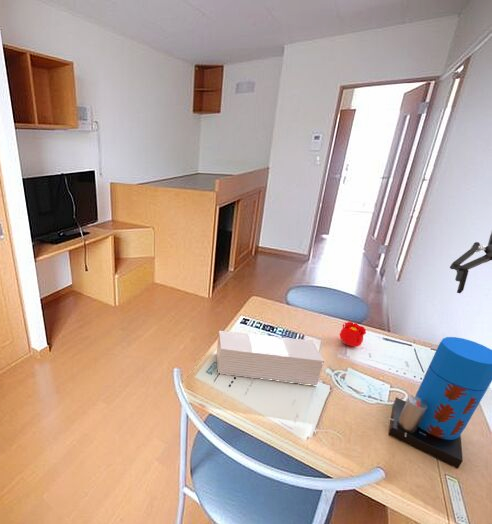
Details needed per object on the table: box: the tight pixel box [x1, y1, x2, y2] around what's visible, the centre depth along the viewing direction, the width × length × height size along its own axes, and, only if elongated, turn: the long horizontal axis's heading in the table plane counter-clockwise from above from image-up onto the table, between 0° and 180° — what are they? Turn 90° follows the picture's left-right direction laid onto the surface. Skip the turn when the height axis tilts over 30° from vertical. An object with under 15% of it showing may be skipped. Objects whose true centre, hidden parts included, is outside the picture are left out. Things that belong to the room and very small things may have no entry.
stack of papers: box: [215, 330, 325, 386], centre depth 106 cm, size 32×11×11 cm, turn 79°
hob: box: [387, 397, 464, 469], centre depth 84 cm, size 15×15×3 cm
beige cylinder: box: [397, 395, 428, 433], centre depth 82 cm, size 4×4×9 cm
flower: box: [339, 321, 367, 347], centre depth 120 cm, size 8×8×8 cm
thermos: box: [414, 336, 492, 440], centre depth 80 cm, size 11×11×25 cm
